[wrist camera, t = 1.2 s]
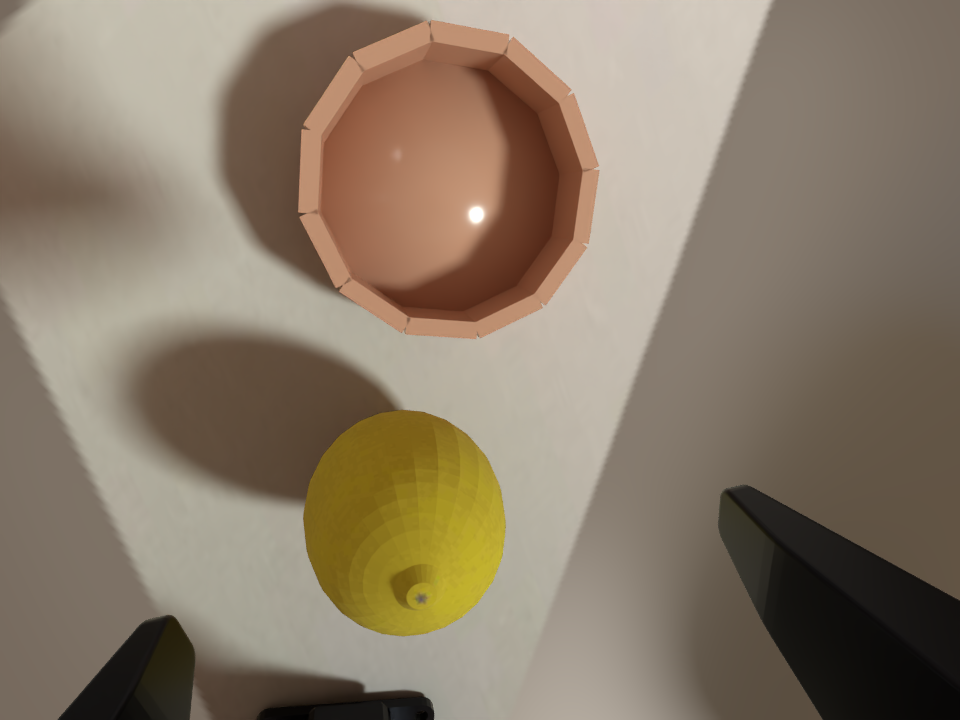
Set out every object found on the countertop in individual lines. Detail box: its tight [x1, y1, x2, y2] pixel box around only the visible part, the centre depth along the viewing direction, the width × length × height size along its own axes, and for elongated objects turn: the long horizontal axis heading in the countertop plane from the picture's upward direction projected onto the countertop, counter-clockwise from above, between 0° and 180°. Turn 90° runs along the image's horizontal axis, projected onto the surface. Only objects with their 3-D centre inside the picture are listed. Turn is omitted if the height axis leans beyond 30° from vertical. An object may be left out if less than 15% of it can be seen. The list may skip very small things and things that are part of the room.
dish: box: [298, 20, 599, 339], centre depth 18 cm, size 8×8×2 cm
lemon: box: [303, 410, 506, 636], centre depth 17 cm, size 6×6×8 cm
